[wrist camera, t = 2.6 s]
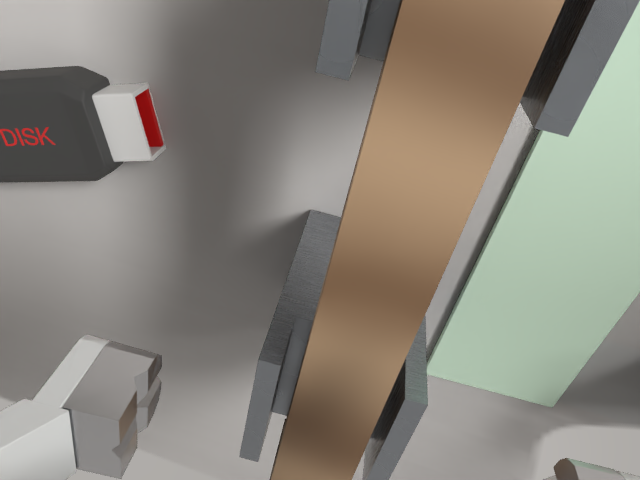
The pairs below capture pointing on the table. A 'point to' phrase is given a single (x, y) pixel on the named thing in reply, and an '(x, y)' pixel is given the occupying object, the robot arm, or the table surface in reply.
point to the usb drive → (73, 125)
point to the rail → (406, 213)
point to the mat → (557, 251)
